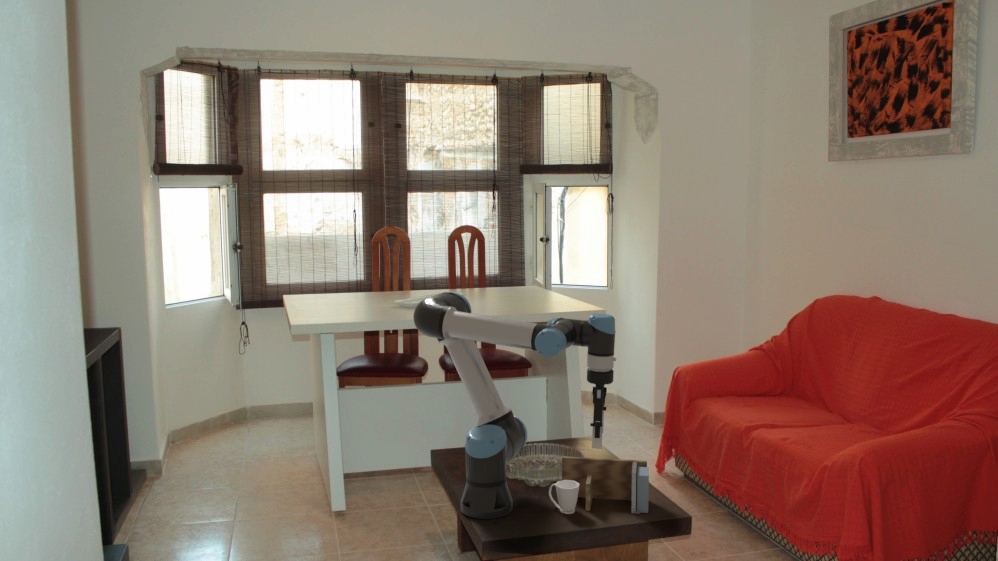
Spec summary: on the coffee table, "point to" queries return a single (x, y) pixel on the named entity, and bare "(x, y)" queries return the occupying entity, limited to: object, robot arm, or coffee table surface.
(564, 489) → the cup
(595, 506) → the coffee table surface
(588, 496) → the divider
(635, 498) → the bookend
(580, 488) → the shelf wall
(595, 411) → the robot arm
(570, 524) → the coffee table surface
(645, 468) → the shelved book
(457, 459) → the coffee table surface
